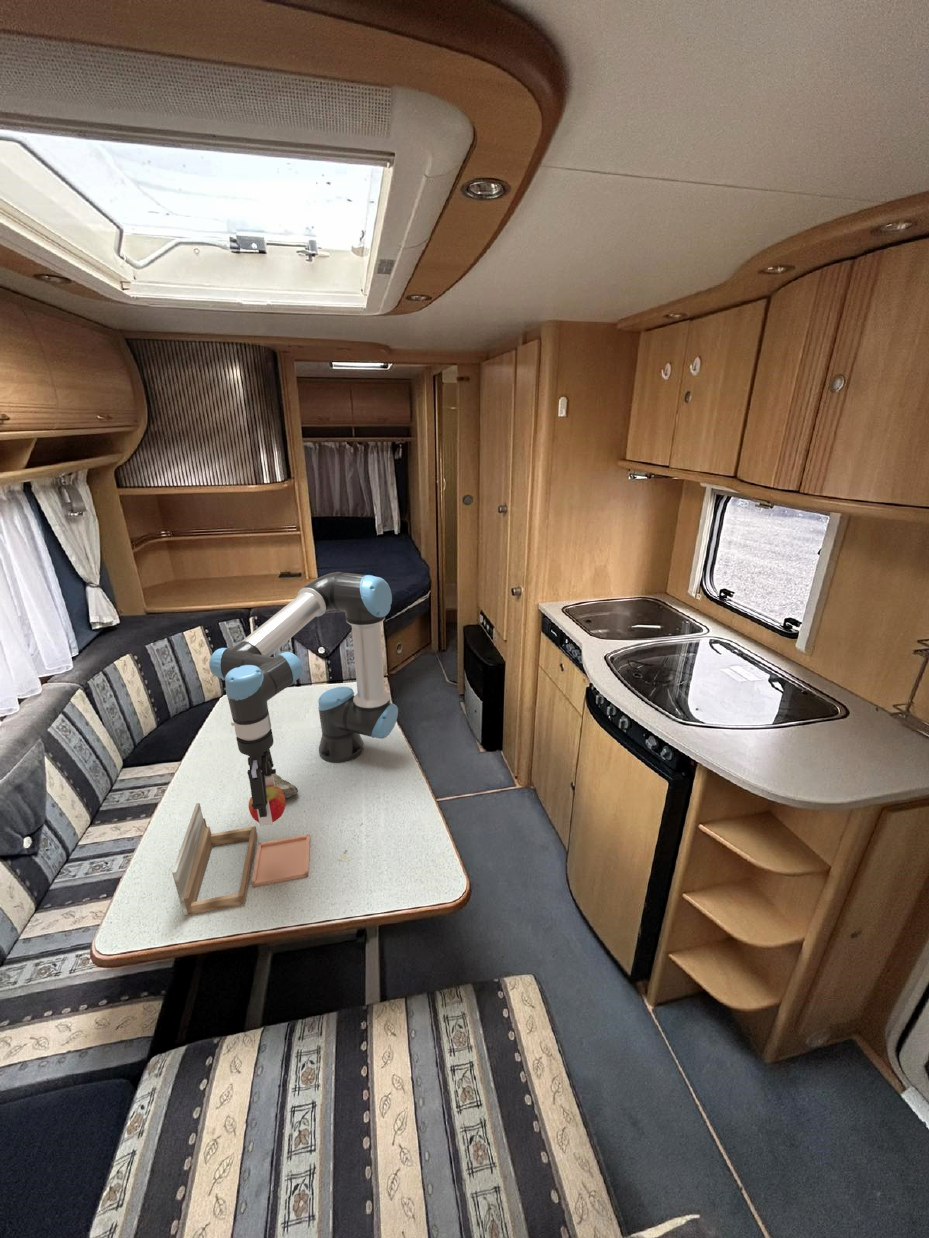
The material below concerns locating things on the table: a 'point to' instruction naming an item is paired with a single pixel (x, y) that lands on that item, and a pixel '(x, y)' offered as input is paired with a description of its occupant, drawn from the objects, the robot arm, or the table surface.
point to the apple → (271, 803)
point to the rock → (285, 786)
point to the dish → (281, 860)
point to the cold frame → (196, 859)
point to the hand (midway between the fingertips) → (268, 810)
